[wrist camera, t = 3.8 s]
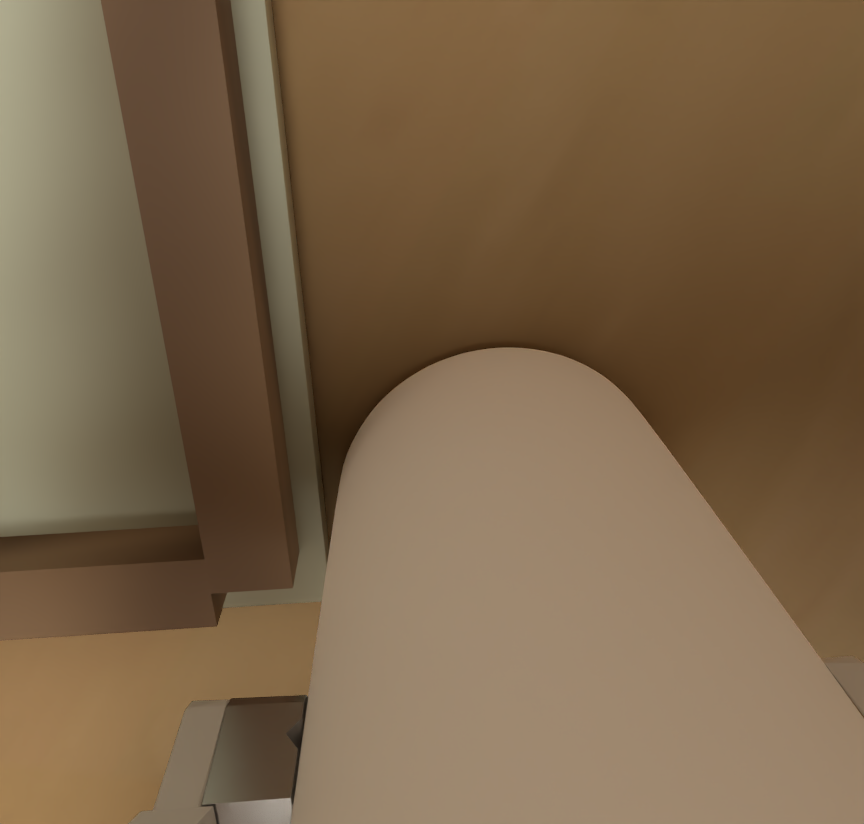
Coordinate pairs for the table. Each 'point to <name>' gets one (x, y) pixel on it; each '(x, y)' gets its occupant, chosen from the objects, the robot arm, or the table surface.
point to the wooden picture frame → (150, 322)
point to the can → (553, 626)
